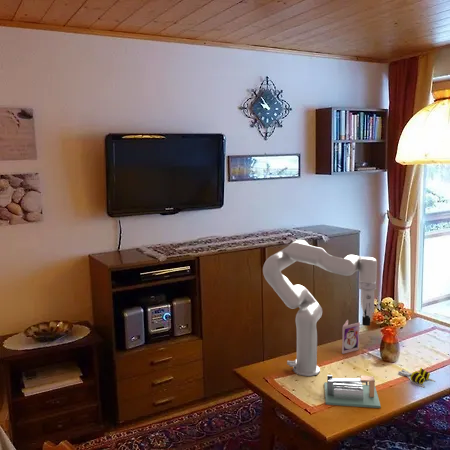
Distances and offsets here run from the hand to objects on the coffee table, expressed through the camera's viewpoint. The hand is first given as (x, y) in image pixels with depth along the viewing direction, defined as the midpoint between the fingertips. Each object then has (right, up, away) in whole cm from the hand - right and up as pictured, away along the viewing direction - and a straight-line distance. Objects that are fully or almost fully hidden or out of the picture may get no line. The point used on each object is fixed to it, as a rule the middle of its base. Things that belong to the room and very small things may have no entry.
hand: (366, 324), depth 224 cm
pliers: (+24, -27, +7) cm, 37 cm away
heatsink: (-11, -28, -8) cm, 31 cm away
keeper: (-2, -28, -10) cm, 30 cm away
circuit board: (-9, -29, -8) cm, 31 cm away
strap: (-10, -24, -9) cm, 27 cm away
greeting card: (+1, -21, +40) cm, 45 cm away
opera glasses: (+26, -27, +5) cm, 38 cm away
